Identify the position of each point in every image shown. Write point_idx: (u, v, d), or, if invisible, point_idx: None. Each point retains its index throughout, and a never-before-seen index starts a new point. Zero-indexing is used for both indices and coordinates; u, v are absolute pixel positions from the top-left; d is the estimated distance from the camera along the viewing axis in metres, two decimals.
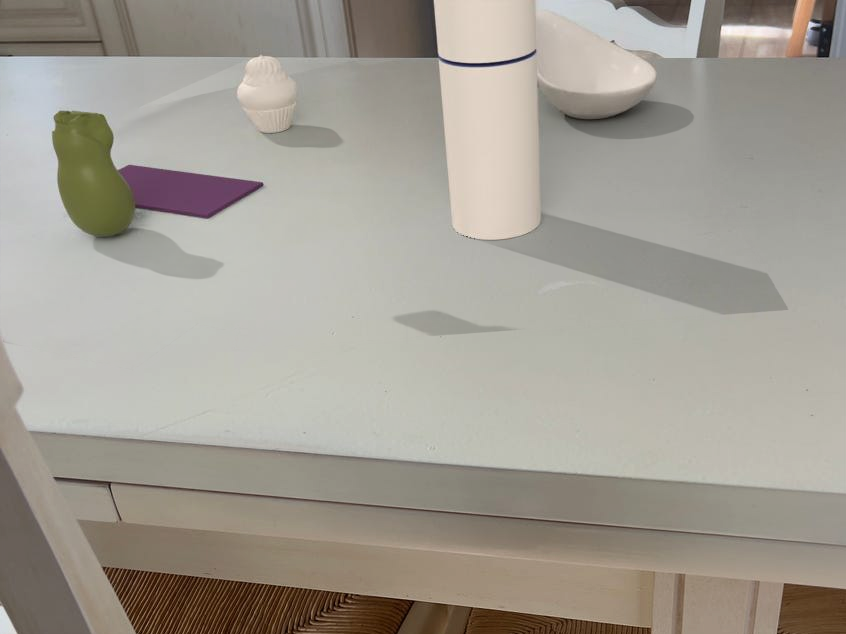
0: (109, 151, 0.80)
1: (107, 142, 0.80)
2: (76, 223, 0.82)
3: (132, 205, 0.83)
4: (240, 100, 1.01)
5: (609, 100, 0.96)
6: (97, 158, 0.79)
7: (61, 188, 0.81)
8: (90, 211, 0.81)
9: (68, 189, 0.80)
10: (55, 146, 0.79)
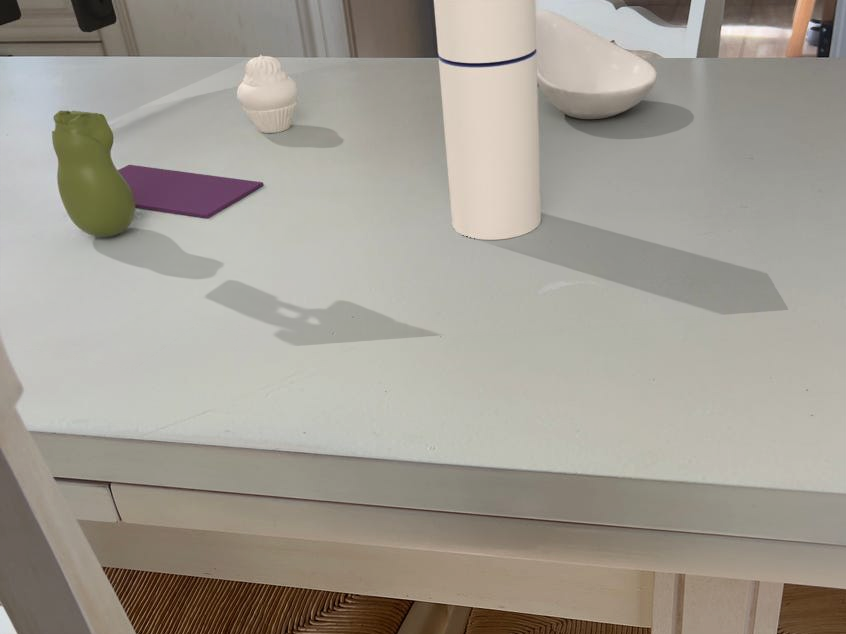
0: (109, 151, 0.80)
1: (107, 142, 0.80)
2: (76, 223, 0.82)
3: (132, 205, 0.83)
4: (240, 100, 1.01)
5: (609, 100, 0.96)
6: (97, 158, 0.79)
7: (61, 188, 0.81)
8: (90, 211, 0.81)
9: (68, 189, 0.80)
10: (55, 146, 0.79)
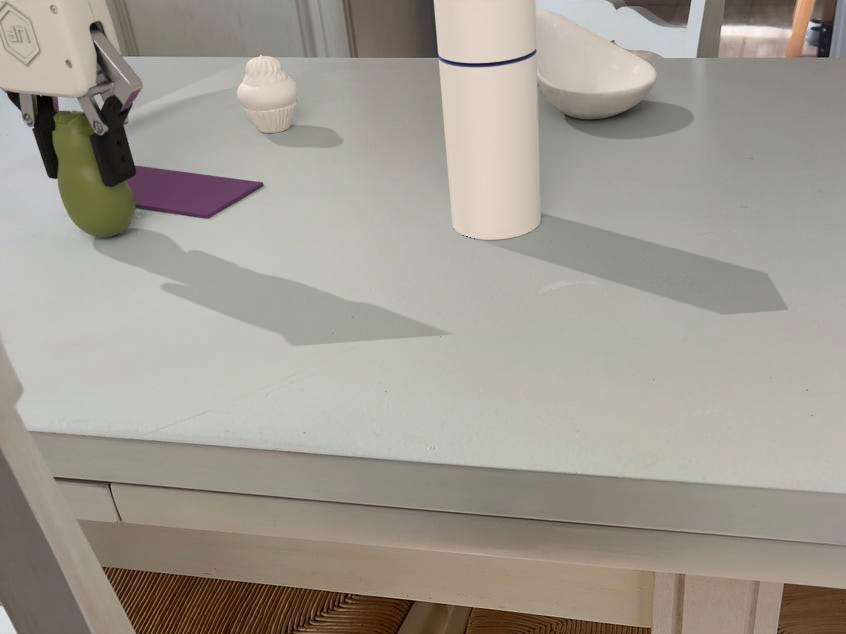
0: None
1: None
2: (76, 223, 0.82)
3: (132, 205, 0.83)
4: (240, 100, 1.01)
5: (609, 100, 0.96)
6: None
7: (61, 188, 0.81)
8: (90, 211, 0.81)
9: (68, 189, 0.80)
10: (55, 146, 0.79)
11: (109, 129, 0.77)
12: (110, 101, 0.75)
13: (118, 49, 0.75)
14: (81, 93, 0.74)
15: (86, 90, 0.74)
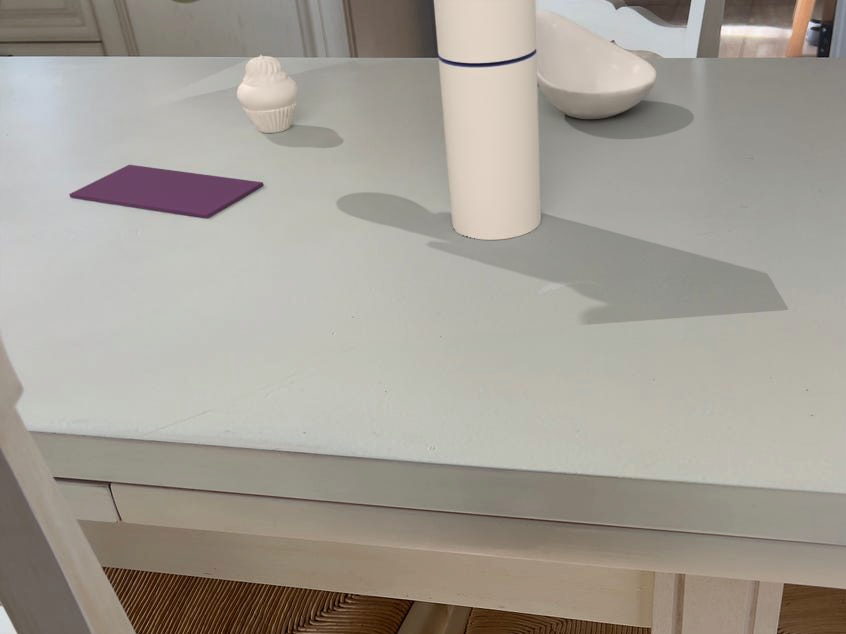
0: None
1: None
2: None
3: None
4: (240, 100, 1.01)
5: (609, 100, 0.96)
6: None
7: None
8: None
9: None
10: None
11: None
12: None
13: None
14: None
15: None
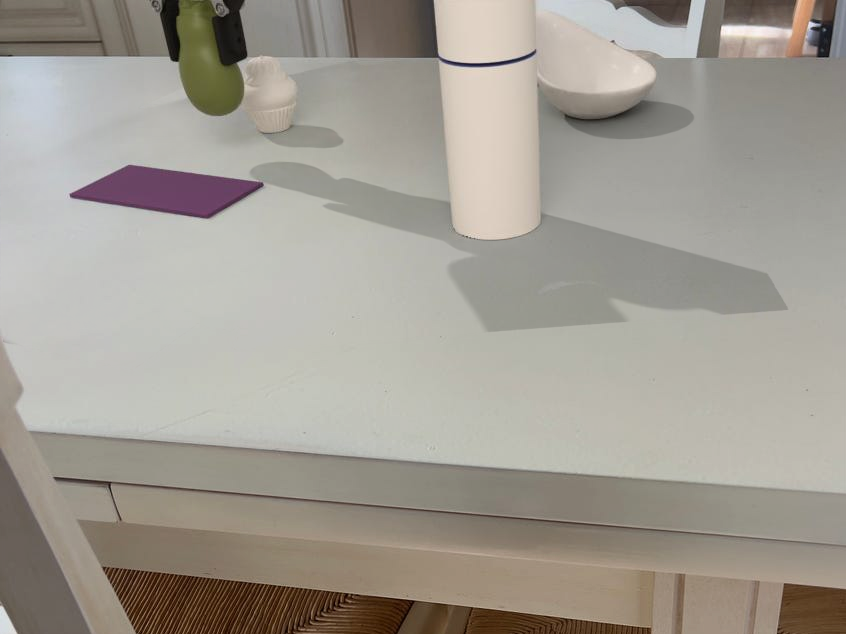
0: None
1: None
2: (194, 102, 0.93)
3: (242, 86, 0.94)
4: None
5: (609, 100, 0.96)
6: None
7: (183, 69, 0.92)
8: (208, 89, 0.92)
9: (189, 69, 0.91)
10: (179, 29, 0.90)
11: (230, 11, 0.88)
12: None
13: None
14: None
15: None
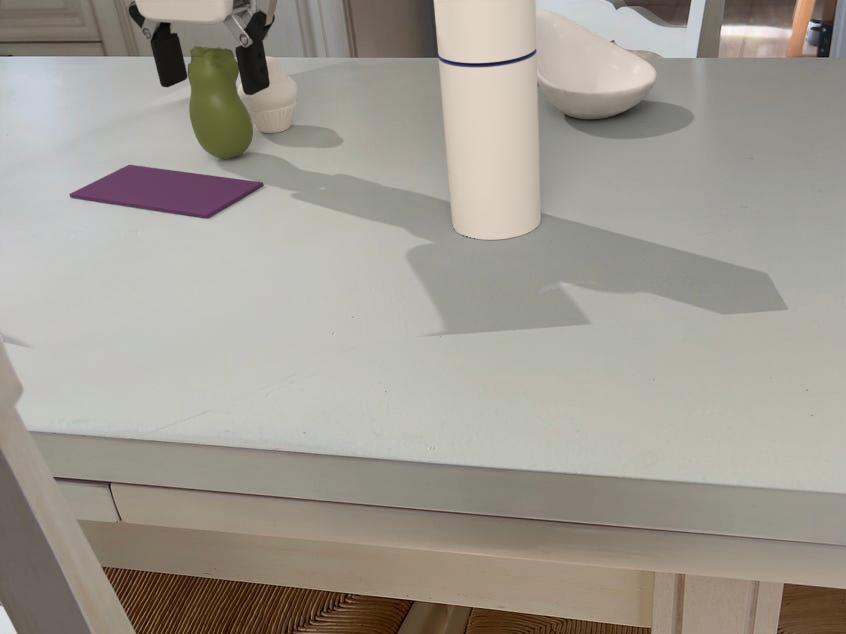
0: (235, 82, 0.94)
1: (234, 74, 0.93)
2: (204, 145, 0.96)
3: (251, 130, 0.97)
4: None
5: (609, 100, 0.96)
6: (226, 87, 0.93)
7: (193, 114, 0.94)
8: (218, 134, 0.94)
9: (200, 114, 0.94)
10: (191, 76, 0.92)
11: (253, 41, 0.89)
12: (257, 16, 0.87)
13: None
14: (220, 20, 0.87)
15: (224, 17, 0.87)
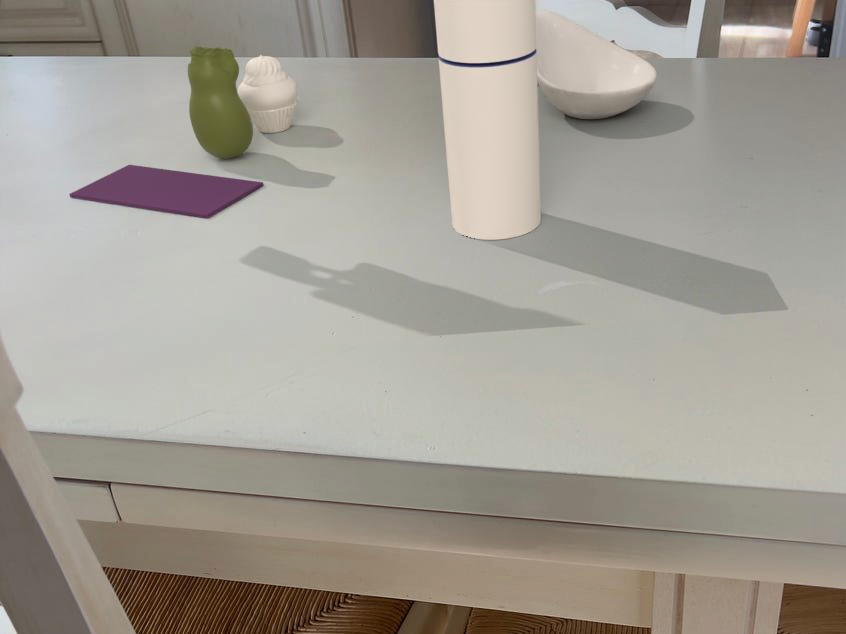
0: (235, 82, 0.94)
1: (234, 74, 0.93)
2: (204, 145, 0.96)
3: (251, 130, 0.97)
4: None
5: (609, 100, 0.96)
6: (226, 87, 0.93)
7: (193, 114, 0.94)
8: (218, 134, 0.94)
9: (200, 114, 0.94)
10: (191, 76, 0.92)
11: None
12: None
13: None
14: None
15: None
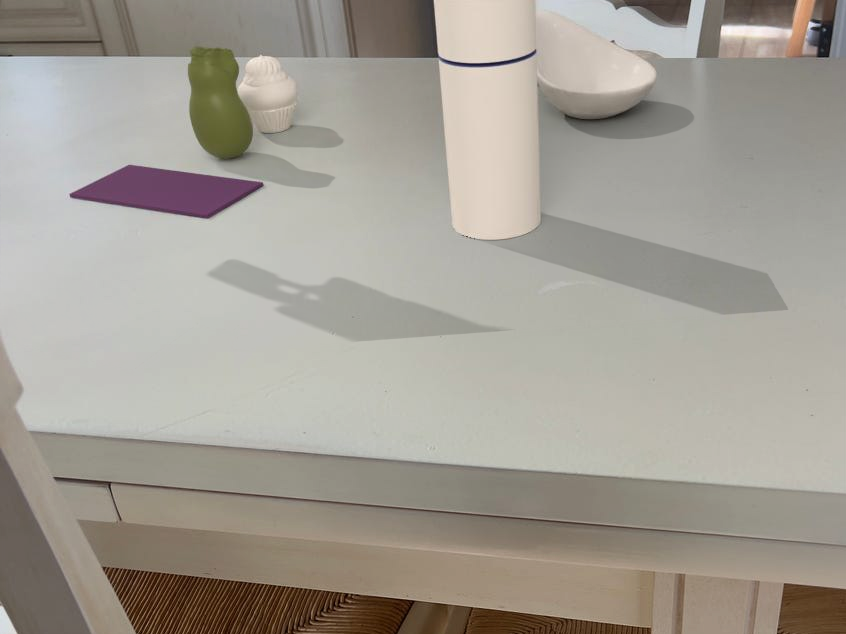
0: (235, 82, 0.94)
1: (234, 74, 0.93)
2: (204, 145, 0.96)
3: (251, 130, 0.97)
4: None
5: (609, 100, 0.96)
6: (226, 86, 0.93)
7: (193, 114, 0.94)
8: (218, 134, 0.94)
9: (200, 114, 0.94)
10: (191, 76, 0.92)
11: None
12: None
13: None
14: None
15: None
